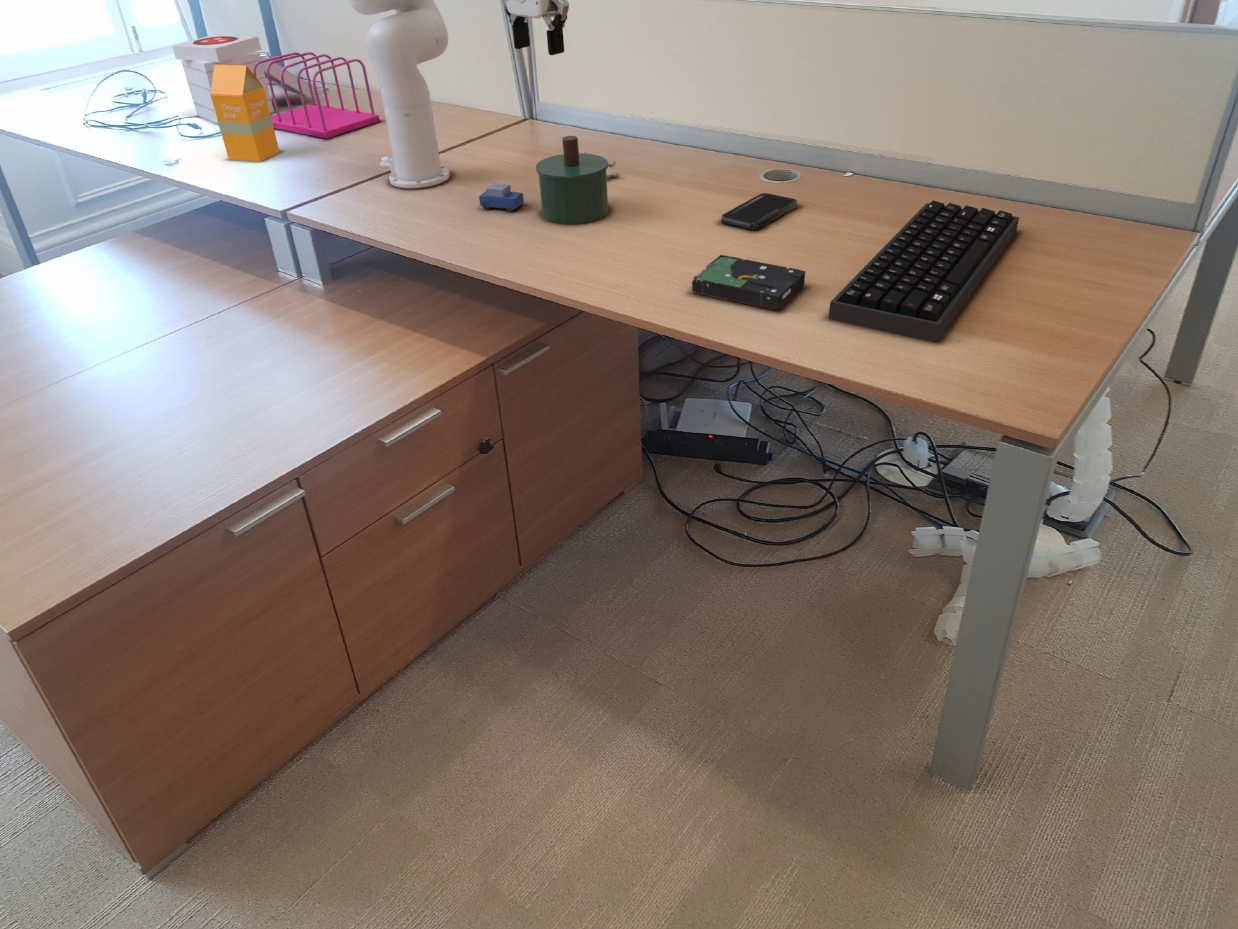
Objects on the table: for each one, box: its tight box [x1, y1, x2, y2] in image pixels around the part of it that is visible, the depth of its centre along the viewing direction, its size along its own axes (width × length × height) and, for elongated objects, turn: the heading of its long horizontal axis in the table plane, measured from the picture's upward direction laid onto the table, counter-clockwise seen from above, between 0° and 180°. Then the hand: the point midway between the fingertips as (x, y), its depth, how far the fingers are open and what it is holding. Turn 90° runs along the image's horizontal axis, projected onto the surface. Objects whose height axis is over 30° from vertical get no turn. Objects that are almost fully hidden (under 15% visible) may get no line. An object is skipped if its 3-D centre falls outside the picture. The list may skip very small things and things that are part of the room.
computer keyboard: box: [828, 200, 1020, 343], centre depth 148 cm, size 45×16×4 cm, turn 148°
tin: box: [538, 169, 609, 225], centre depth 175 cm, size 12×12×8 cm
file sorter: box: [253, 51, 380, 139], centre depth 233 cm, size 17×25×16 cm
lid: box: [535, 135, 609, 179], centre depth 172 cm, size 13×13×6 cm
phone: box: [721, 192, 798, 231], centre depth 172 cm, size 8×1×15 cm
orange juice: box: [210, 64, 280, 163], centre depth 212 cm, size 8×9×20 cm
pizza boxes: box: [171, 33, 314, 125], centre depth 248 cm, size 19×30×18 cm, turn 133°
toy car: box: [478, 182, 525, 213], centre depth 181 cm, size 8×4×4 cm, turn 69°
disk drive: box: [691, 254, 806, 311], centre depth 146 cm, size 10×3×15 cm
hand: (539, 50), depth 167 cm, fingers open, 9 cm apart
